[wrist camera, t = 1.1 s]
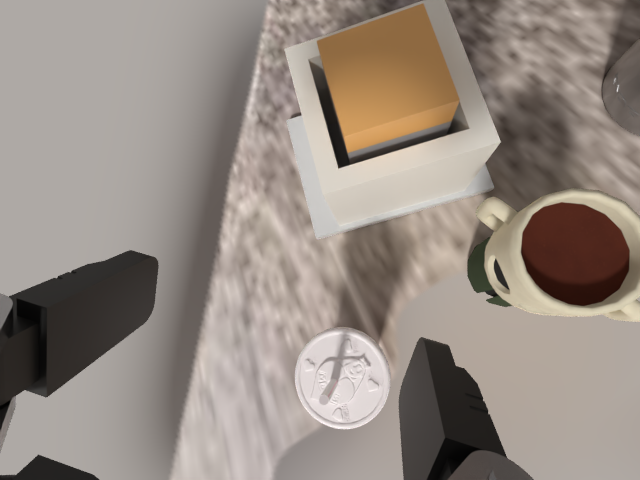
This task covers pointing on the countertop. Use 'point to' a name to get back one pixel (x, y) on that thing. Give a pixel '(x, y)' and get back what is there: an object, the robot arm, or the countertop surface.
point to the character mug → (561, 255)
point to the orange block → (388, 84)
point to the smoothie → (342, 378)
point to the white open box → (396, 167)
